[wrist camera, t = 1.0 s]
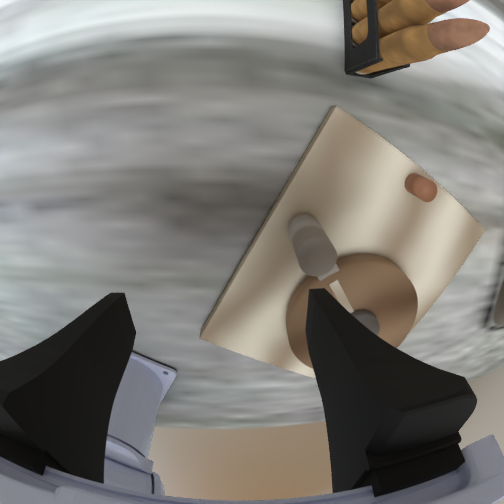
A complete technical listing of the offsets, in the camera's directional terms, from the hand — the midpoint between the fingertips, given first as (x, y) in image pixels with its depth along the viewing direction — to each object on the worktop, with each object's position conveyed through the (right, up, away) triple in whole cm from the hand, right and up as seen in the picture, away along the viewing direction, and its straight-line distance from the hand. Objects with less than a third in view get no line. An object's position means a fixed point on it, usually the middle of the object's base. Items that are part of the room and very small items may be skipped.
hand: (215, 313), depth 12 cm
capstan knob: (+8, -1, +10) cm, 12 cm away
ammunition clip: (+8, +18, +2) cm, 20 cm away
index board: (+9, 0, +11) cm, 14 cm away
